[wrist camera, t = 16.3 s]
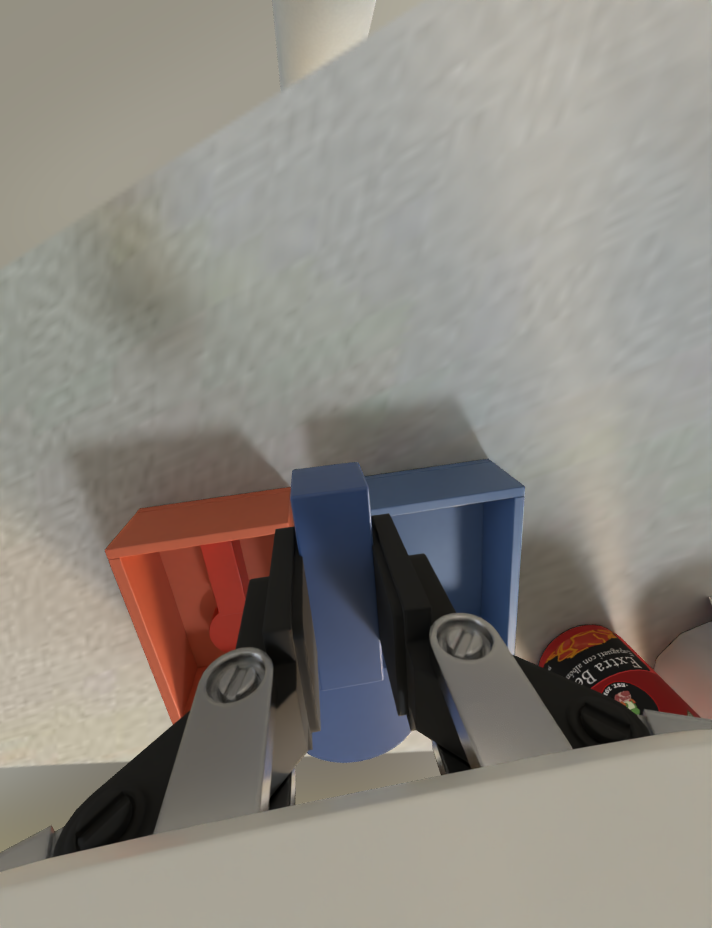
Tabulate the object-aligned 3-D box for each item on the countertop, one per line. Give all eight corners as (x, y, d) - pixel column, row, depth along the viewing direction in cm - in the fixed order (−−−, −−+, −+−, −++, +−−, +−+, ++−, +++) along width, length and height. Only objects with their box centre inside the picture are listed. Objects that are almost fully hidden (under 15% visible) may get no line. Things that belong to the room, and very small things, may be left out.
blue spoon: (245, 474, 10) (234, 504, 9) (401, 455, 11) (420, 480, 9) (298, 737, 14) (297, 795, 12) (414, 716, 14) (428, 768, 13)
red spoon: (183, 521, 24) (174, 536, 22) (253, 511, 24) (249, 525, 22) (220, 647, 27) (214, 668, 26) (280, 636, 28) (278, 657, 26)
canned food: (606, 606, 32) (750, 743, 21) (628, 665, 35) (765, 811, 24) (522, 650, 32) (624, 804, 22) (551, 705, 35) (653, 864, 25)
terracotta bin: (139, 508, 24) (103, 550, 20) (290, 486, 25) (288, 522, 20) (193, 668, 29) (174, 729, 24) (318, 645, 29) (321, 701, 25)
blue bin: (350, 478, 25) (360, 511, 21) (488, 458, 26) (525, 486, 21) (368, 637, 30) (379, 690, 25) (484, 616, 30) (514, 665, 26)
